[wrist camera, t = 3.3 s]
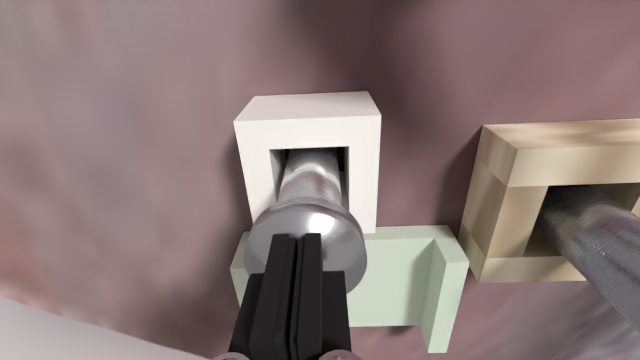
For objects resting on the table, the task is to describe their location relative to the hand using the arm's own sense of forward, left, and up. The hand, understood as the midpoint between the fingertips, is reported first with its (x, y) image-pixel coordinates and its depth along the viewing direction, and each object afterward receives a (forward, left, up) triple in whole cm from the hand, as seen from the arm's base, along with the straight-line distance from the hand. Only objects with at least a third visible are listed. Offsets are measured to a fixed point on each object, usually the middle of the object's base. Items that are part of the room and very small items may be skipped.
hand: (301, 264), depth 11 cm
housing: (0, 0, -11) cm, 11 cm away
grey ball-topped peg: (0, 0, -10) cm, 10 cm away
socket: (-16, +4, -11) cm, 20 cm away
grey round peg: (-16, +4, -11) cm, 20 cm away
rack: (-2, +12, -11) cm, 16 cm away
